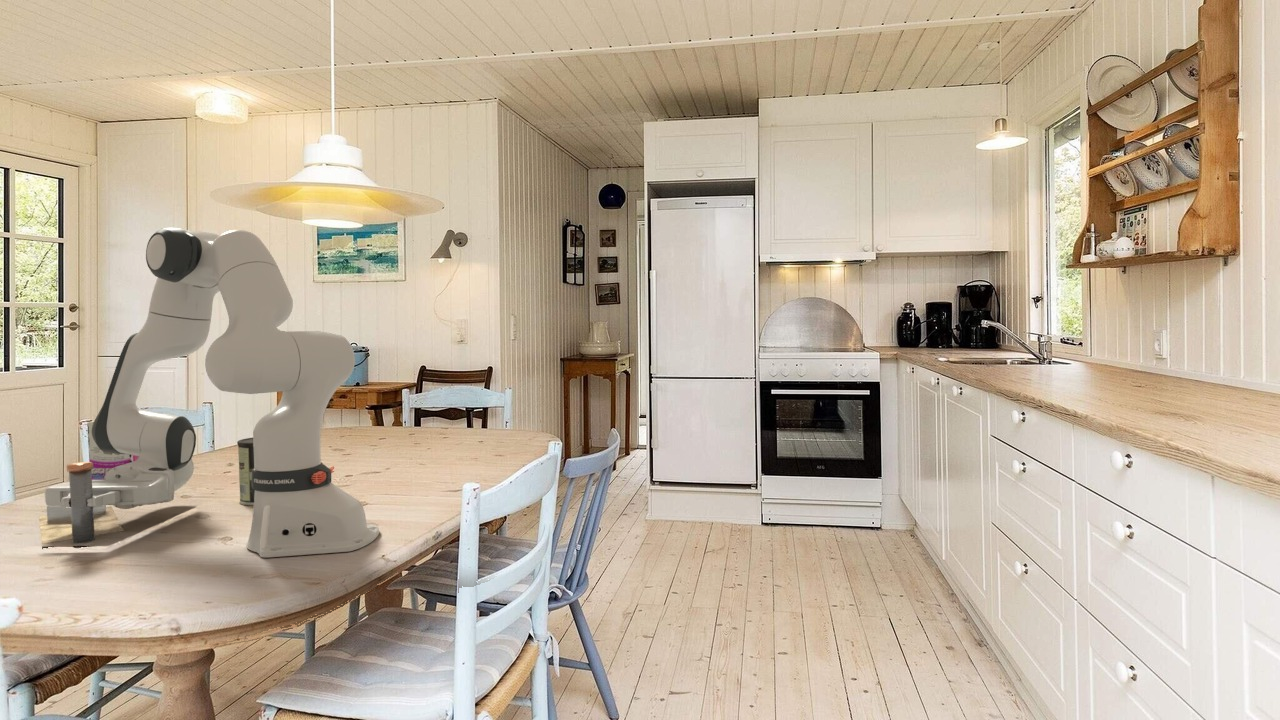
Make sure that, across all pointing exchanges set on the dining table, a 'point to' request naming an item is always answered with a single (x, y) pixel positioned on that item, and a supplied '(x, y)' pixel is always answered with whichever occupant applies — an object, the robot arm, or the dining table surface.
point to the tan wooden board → (63, 529)
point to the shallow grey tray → (67, 512)
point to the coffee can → (246, 470)
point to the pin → (81, 502)
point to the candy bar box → (104, 458)
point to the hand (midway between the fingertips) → (78, 503)
